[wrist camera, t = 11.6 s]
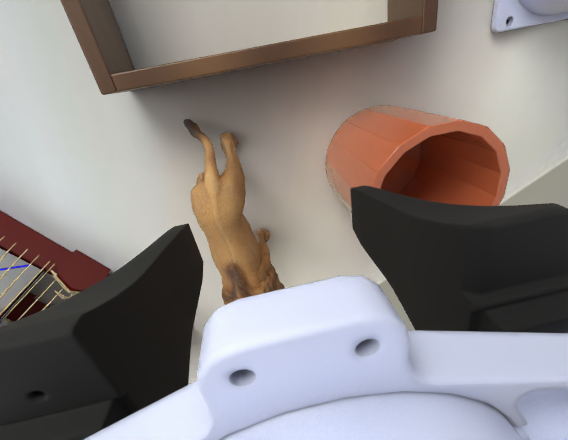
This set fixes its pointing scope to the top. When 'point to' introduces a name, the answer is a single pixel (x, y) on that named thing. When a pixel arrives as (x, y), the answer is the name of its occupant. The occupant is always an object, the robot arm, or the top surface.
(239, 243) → the lion figurine
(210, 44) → the top surface
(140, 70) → the wooden frame
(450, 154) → the cup
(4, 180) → the top surface
